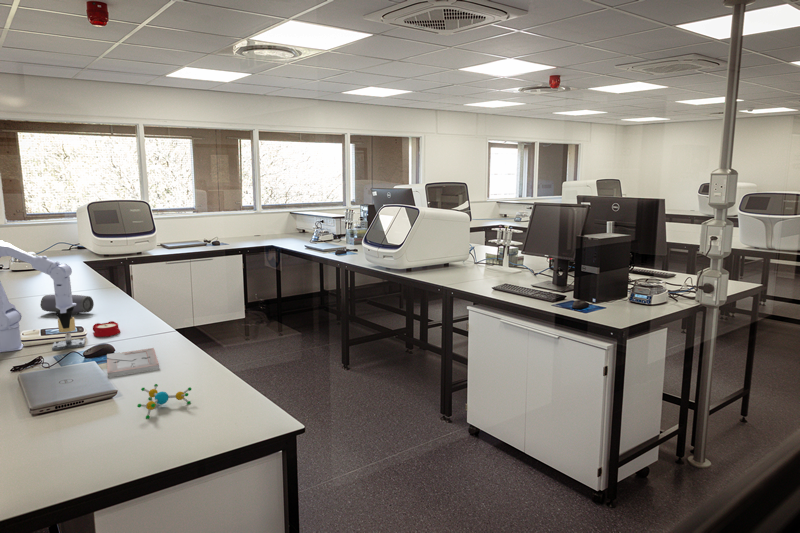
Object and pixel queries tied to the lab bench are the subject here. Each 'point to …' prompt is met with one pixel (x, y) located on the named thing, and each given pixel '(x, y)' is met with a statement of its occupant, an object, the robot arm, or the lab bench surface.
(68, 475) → the lab bench surface
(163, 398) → the molecular model
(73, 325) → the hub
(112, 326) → the alarm clock
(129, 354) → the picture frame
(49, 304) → the bluetooth speaker
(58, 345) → the block
